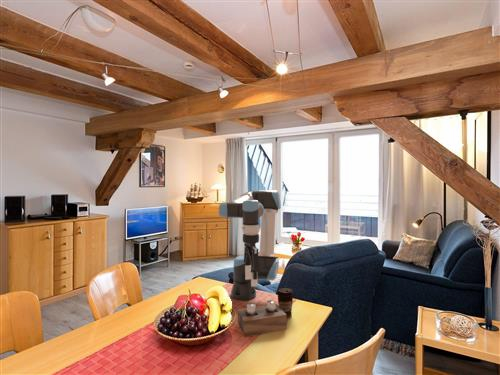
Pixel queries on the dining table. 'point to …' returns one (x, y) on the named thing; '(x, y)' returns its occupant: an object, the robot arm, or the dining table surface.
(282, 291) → the coffee cup
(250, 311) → the peg front
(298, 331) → the dining table surface
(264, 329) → the socket block
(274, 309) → the peg back
